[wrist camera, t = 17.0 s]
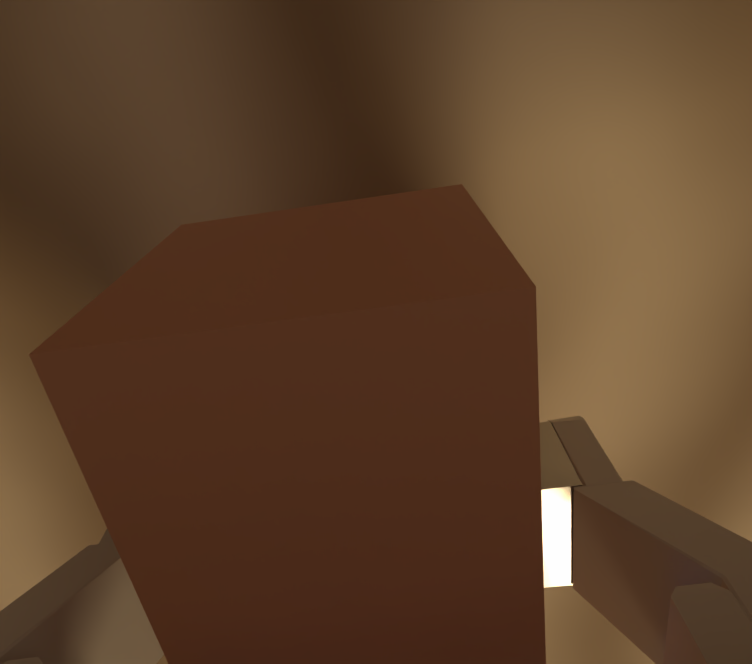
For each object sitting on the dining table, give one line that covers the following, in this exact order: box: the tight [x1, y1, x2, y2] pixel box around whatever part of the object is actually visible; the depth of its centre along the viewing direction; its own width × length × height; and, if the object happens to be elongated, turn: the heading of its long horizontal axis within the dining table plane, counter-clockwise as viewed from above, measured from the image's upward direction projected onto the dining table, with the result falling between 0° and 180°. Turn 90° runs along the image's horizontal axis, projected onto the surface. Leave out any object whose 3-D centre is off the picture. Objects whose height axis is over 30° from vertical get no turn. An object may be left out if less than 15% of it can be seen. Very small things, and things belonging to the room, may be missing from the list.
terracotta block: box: [29, 184, 546, 664], centre depth 8 cm, size 4×4×10 cm
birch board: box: [0, 0, 752, 664], centre depth 13 cm, size 22×18×1 cm
